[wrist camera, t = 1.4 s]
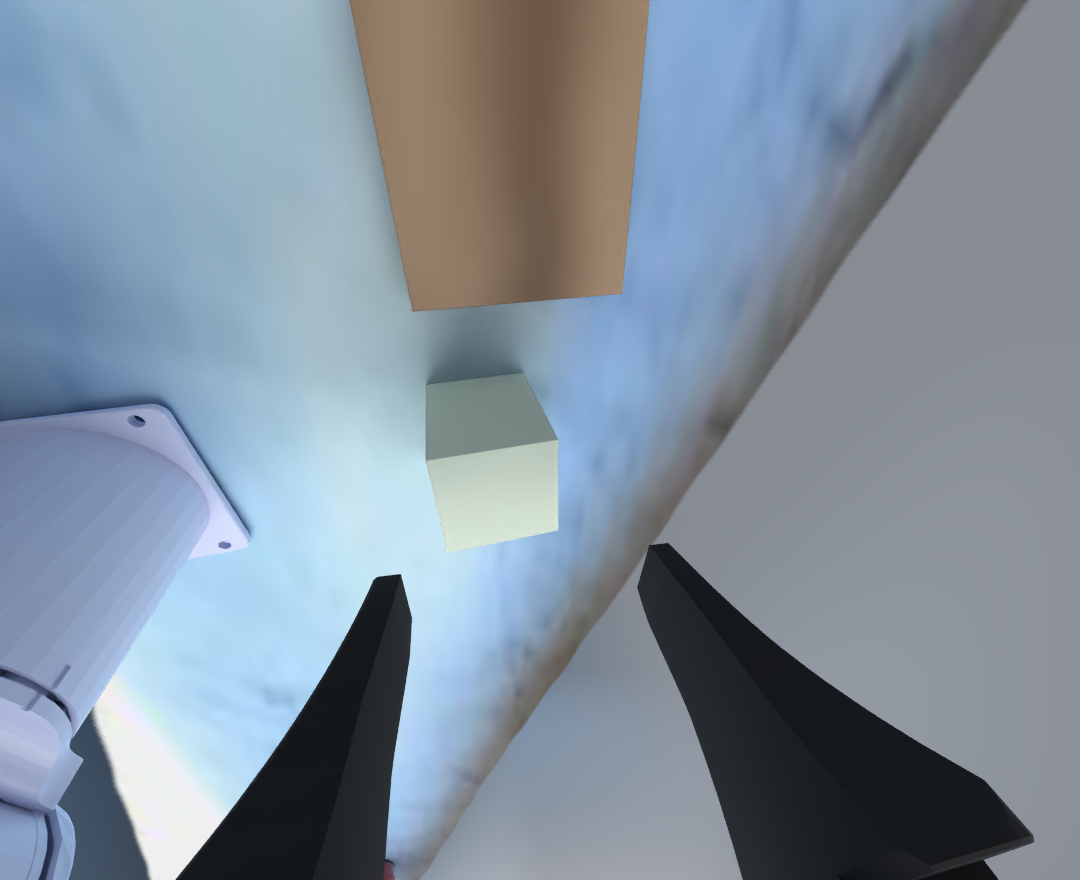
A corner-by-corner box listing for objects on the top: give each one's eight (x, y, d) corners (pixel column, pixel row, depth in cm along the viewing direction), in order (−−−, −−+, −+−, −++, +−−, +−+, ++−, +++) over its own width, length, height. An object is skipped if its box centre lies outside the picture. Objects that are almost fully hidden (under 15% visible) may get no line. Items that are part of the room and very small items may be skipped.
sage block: (442, 463, 20) (447, 553, 15) (425, 384, 17) (425, 460, 12) (527, 449, 21) (558, 530, 16) (523, 372, 18) (558, 439, 13)
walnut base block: (414, 295, 16) (412, 311, 14) (358, 9, 11) (343, -30, 9) (598, 280, 17) (622, 293, 15) (614, 24, 13) (650, -7, 11)
